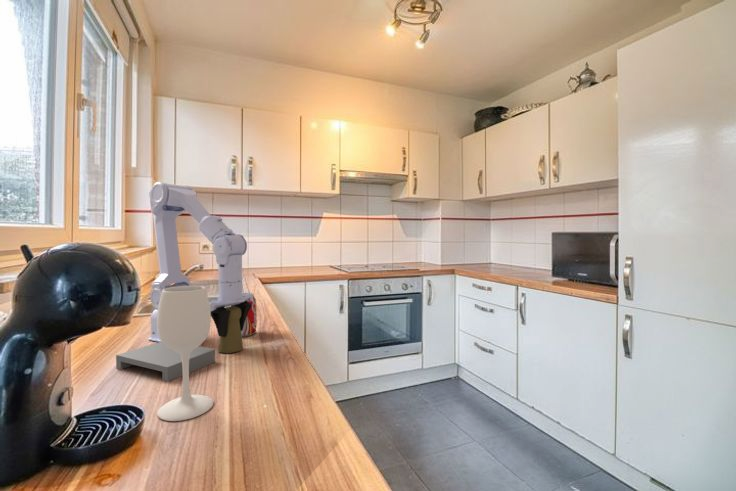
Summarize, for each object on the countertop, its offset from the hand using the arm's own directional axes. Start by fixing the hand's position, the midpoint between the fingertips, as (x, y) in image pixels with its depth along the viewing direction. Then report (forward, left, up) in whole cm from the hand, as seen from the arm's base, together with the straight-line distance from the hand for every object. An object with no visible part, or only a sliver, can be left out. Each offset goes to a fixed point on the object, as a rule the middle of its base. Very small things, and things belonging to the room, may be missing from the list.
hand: (230, 333), depth 91 cm
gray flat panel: (-5, -14, -4) cm, 16 cm away
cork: (0, 0, -4) cm, 4 cm away
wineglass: (+16, -26, -5) cm, 31 cm away
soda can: (-7, +12, -5) cm, 15 cm away
